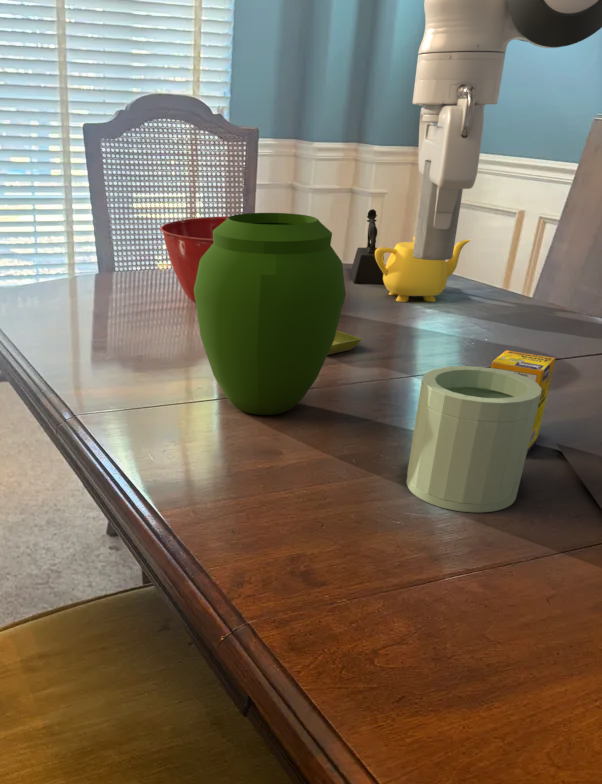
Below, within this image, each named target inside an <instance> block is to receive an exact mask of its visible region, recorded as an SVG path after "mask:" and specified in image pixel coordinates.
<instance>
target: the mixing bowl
mask: <svg viewBox="0 0 602 784" xmlns="http://www.w3.org/2000/svg"><path fill="white" fill-rule="evenodd" d="M229 217H230V216H210V217H209V216H208V217H195V218H187V219H179V220H175V221H171V222H167V223H164V224H163V225H161V226H160V231H161V232H162V233H163V239H164V244H165V246H166V247H165V248H166V251H167V255H168V257H169V260H170V263H171V266H172V269H173V272H174V274H175V276H176V278H177V281H178V283H179V285H180V287H181V288H182V290H183V292H184V294H185V295H186V296H187V298H188V299H189V300H190V301H191V302H193V303H194V304H196V302H195V295H194V286H195V282H196V277H197V272H198V267H199V262H200V259H201V258H202V256H203V255H204V254H205V253H206V251H207V250H208V249H209V248H210V247H211V245H212V244H213V230H214V229H215V228H217V227H218V226H219V225H220V224H222V223H223V222H224V221H225V220H226V219H228V218H229Z"/></svg>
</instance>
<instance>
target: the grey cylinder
mask: <svg viewBox="0 0 602 784" xmlns="http://www.w3.org/2000/svg"><path fill="white" fill-rule="evenodd" d="M430 167H431V161H429V160H425V164H424V172H423V175H422V180H421V187H420V188H421V189H420V196H419V204H418V212H417V220H416V227H415V235H414V236H415V242H414V241H413V242H414V250H413V257H415V258H418V259H424V260H445V261H448V260H449V259H451V258H452V256H453V251H454V247H455V245H456V236H457V231H458V223H459V217H460V210H461V205H462V197H463V191H464V189H459V192H458V197H457V201H456V204H455V207H454V210H453V212H452V219H451V225H450V227H449V228H448V229H436V228H434V226H433V216H434V211H435V207H436V200H437V187H438V186H437V185H436V184H434V183H433V182H431V181H430V175H429V174H430Z"/></svg>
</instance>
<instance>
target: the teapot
mask: <svg viewBox="0 0 602 784" xmlns="http://www.w3.org/2000/svg"><path fill="white" fill-rule="evenodd" d="M412 239H413V241H400V242H398V243H396V244H395V246H394V247H386V246H381V247H376V248H377V249H376V250H375V259H376V262H377V264H378V265H379V267H380V269H381V270H382V272H383V273H384V275H383V282H384V284H383V285H384V286H385V288H386V290H387V291H389V293H388V295H389V296H397V297H396V299H395V301H396V302H400V303H405V302H408V301H409V298H410V296H411V297H412V296H413V297H414V296H415V297H416V296H418V297H419V296H420V297H423V301H425V302H429V303H430V302H431V303H432V302H433V303H434V302H436V301H437V300H436V297H435V296H439V295H441V293H443V291H444V290H445V288H446V286H447V281H448V278H449V277H450V276H452V275H453V274H454V272H455V270H456V269H457V267H458V263H459V258H460V255H461V251H462V249H463V248H464V246H466V244H469V242H470V241H472V239H471V238H470V239H464V240H461V241H458V242H457V243H455V245H454V251H453V256H452V258H451V259H448V260H424V259H418V258H415V257H413V250H414V242H415V235H414V236H413V237H412ZM386 253H388V254H390V255H389V257H388V259H387V261H386V263H385V258H384V259H383V256H384V255H385V254H386Z"/></svg>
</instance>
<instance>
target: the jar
mask: <svg viewBox="0 0 602 784" xmlns="http://www.w3.org/2000/svg"><path fill="white" fill-rule="evenodd" d="M541 391H542V388H541V387H540V386H539V385H538V383H536V382H534V381H533V380H531V379H529V378H527V377H524V376H521V375H519V374H516V373H513V372H508V371H504V370H499V369H493V368H491V367H485V366H472V365H457V366H456V365H455V366H444V367H439V368H434V369H431V370H429V371H427V372H425V373H424V375H423V376H422V378H421V383H420V390H419V395H418V402H417V409H416V413H415V421H414V428H413V434H412V440H411V447H410V448H411V449H410V453H409V459H408V465H407V472H406V473H407V475H406V476H407V477H406V486H407V488H408V490H409V491H410V493H412V494H413V495H414V496H416V498H418V499H420V500H422V501H424V502H425V503H428V504H430V505H433V506H435V507H439V508H442V509H446V510H451V511H455V512H461V513H462V512H463V513H477V514H478V513H480V514H481V513H493V512H497V511H502V510H504V509H506V508H509V507H510V506H512V504H514V502H515V501H516V499H517V496H518V492H519V487H520V484H521V479H522V475H523V471H524V468H525V462H526V459H527V455H528V454H527V450H528V446H529V442H530V438H531V433H532V429H533V425H534V421H535V417H536V412H537V408H538V404H539V400H540V395H541Z"/></svg>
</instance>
